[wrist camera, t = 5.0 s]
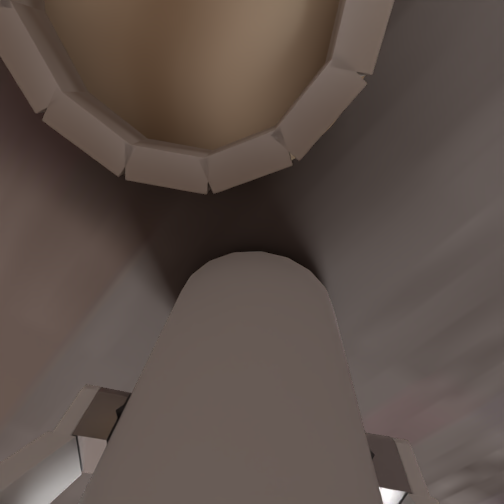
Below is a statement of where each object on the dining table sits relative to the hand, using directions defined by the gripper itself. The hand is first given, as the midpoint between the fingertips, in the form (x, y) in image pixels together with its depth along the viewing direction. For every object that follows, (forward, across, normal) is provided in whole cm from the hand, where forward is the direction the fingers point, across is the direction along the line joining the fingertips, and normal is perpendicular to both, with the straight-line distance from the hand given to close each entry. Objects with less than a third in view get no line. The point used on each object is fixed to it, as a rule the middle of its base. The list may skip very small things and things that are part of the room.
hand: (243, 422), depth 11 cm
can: (+6, 0, 0) cm, 6 cm away
